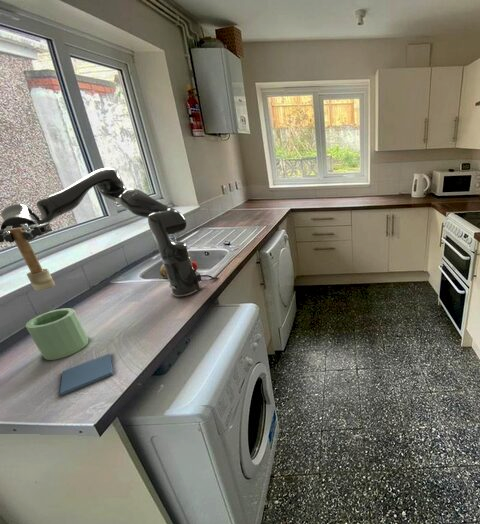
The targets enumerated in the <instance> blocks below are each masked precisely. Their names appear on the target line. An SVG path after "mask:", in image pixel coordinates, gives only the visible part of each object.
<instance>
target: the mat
mask: <svg viewBox="0 0 480 524" xmlns="http://www.w3.org/2000/svg"><path fill="white" fill-rule="evenodd" d="M61 374H62V376H61V383H60V390H59V395H60V396H64V395H66V394H67V395H68V394H69V393H72V392H74V391H76V390H79V389H81V388H83V387H86V386H88V385H91V384H94V383H96V382H98V381H101V380H103V379H106V378H107V377H110V376H113V374H114V373H113V364H112V355H111V353H107V354H105V355H102V356H100V357H96V358H94V359H92V360H89V361H86V362H83V363H81V364H79V365H76V366H73V367H71V368H68V369H65V370H63V371H62V373H61Z"/></svg>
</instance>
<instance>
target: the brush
mask: <svg viewBox="0 0 480 524" xmlns="http://www.w3.org/2000/svg"><path fill="white" fill-rule="evenodd" d="M9 231H10V233H11V235H12V237H13V239H14V243H15V245H16V247H17V249H18V250H19V253H20V254H21V256H22V258H23V260H24V262H25V264H26V267H28V269H29V272H27V273H26V276H27V278H28V281H29V282H30V284H31V287H33V289H34V291H36V292H39V291H44V290H48V289H51V288H53V287H55V286H56V283H55V281H54V279H53V276H52V275H51V273H50V271H49V269H48V268H43V267H42V265H41V264H40V262H39V259H38V257H37V255H36V254H35V252H34V249H33V247H32V246H31V243H30V241H28V240H26V239H25V237H24V235H23V233H22V232H23V230H22V228H21V227H18V228H12V229H9Z"/></svg>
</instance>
